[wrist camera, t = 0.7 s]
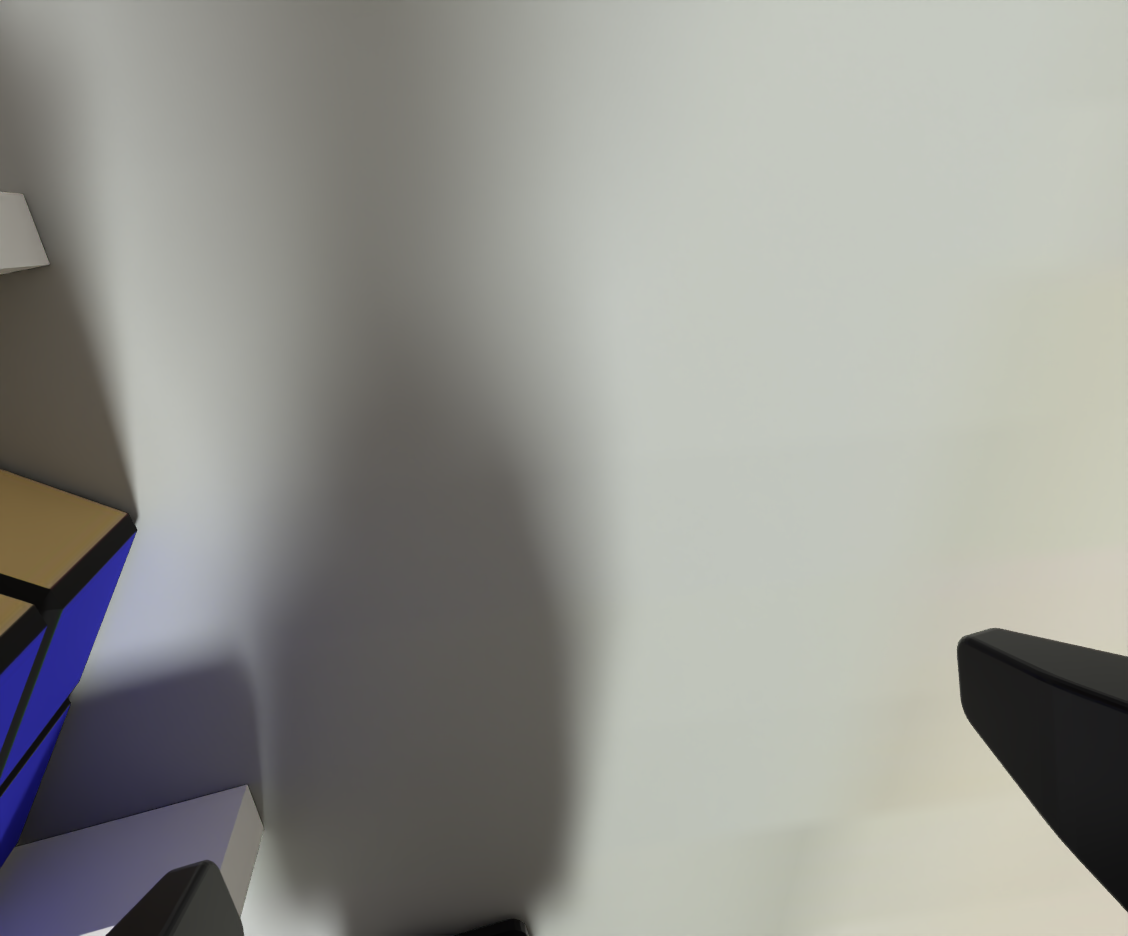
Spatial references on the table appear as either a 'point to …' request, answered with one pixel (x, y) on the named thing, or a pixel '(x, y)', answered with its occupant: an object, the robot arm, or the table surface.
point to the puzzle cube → (47, 623)
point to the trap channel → (125, 846)
